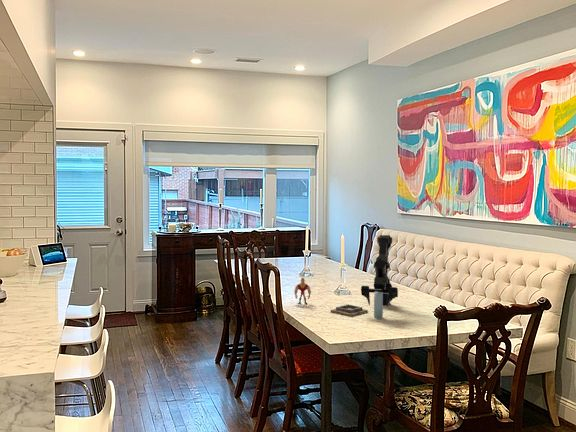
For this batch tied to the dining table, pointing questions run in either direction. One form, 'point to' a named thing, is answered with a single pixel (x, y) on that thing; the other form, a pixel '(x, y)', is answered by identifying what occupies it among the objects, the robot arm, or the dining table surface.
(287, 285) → the dining table surface
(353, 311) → the cradle board
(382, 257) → the robot arm
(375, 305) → the pale blue cylinder
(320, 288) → the dining table surface
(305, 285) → the action figure
